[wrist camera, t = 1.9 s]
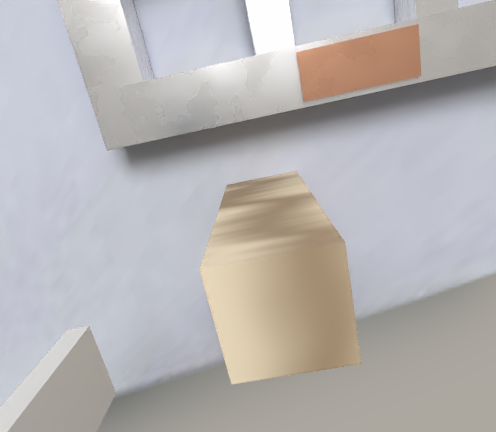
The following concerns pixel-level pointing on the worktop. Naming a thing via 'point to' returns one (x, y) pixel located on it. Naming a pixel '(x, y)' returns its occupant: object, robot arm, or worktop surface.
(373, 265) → the worktop surface
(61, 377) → the robot arm
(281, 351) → the beech peg
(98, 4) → the slotted peg board
